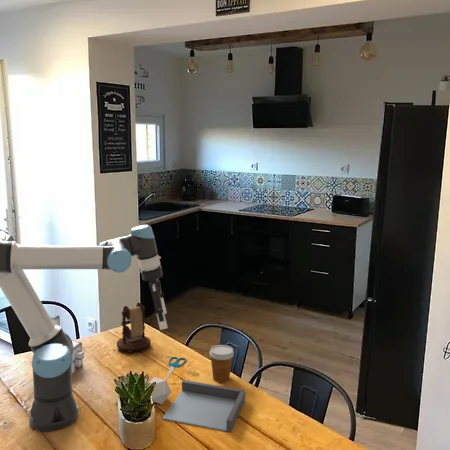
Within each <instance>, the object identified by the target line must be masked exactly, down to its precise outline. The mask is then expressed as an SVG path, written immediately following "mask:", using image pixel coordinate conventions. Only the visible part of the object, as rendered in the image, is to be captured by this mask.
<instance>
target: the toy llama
mask: <svg viewBox="0 0 450 450" xmlns="http://www.w3.org/2000/svg"><path fill="white" fill-rule="evenodd" d="M49 317H50V318H51V320H52V322H53V324H55V325H59V326H60V327H61V321H60V320H61V319H60V315H55V314H54V315H52V316H49ZM72 343H73V354H72V368H71V374H72V375H73V374H74V373H75V372H76V369H80V368H82V367H83V366H84V363H83V359H85V351H83V343H82V342H81V341H75V340H72Z"/></svg>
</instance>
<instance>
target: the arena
mask: <svg viewBox="0 0 450 450" xmlns="http://www.w3.org/2000/svg"><path fill="white" fill-rule="evenodd" d="M245 401H246V390H245V389H240V388H236V387H235V388H234V387H228V386H223V385H217V384H211V383H203V382H197V381H194V380H193V381H191V380H186V379H183V380H182V381H181V391H180V393H179V394H178V395H177V397H175V400H173V402H172V404H171V405H170V406H169V408H168V409H167V411H166V412H165V414H164V415H163V416H162V418H161V419H162V421H163V420H164V421H170V422H174V423H179V424H180V423H181V424H184V425H190V426H196V427H201V428H206V429H211V430H216V431H222V432H226V433H232V431H233V429H234V427H235V425H236V421H237V419H238V417H239V415H240V413H241V410H242V408H243V406H244V404H245Z"/></svg>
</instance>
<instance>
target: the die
mask: <svg viewBox="0 0 450 450" xmlns="http://www.w3.org/2000/svg"><path fill="white" fill-rule="evenodd" d="M153 382H156V386H155V389H154V391H153V393H152V401H153V402H152V403H156V404H159V405H163V404H164V403H165V401H166V399H168V397H169V396H170V395H171V393H172V391H171V388H170V386H169V384H168V381H167V379H166V380H165V379H163V378H159V377H152V379H151V380H150V382H148V384H149V383H153Z"/></svg>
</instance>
